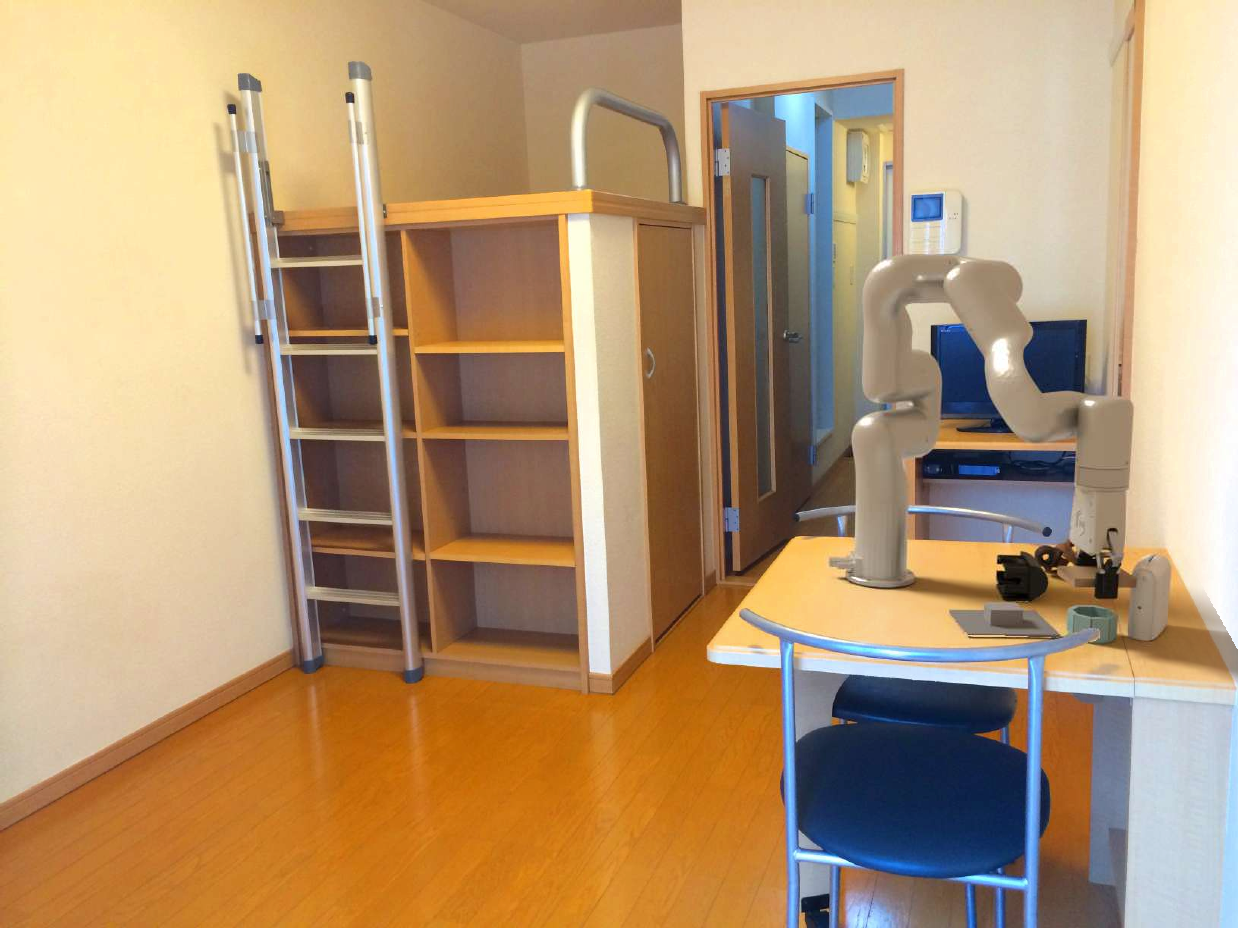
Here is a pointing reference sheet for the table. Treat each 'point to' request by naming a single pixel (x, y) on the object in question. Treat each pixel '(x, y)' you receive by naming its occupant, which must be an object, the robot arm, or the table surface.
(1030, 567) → the end cap
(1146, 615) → the photo printer
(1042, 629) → the rubber mat
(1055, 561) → the brown piece
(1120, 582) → the walnut board
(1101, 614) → the ceramic bowl
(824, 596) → the table surface
